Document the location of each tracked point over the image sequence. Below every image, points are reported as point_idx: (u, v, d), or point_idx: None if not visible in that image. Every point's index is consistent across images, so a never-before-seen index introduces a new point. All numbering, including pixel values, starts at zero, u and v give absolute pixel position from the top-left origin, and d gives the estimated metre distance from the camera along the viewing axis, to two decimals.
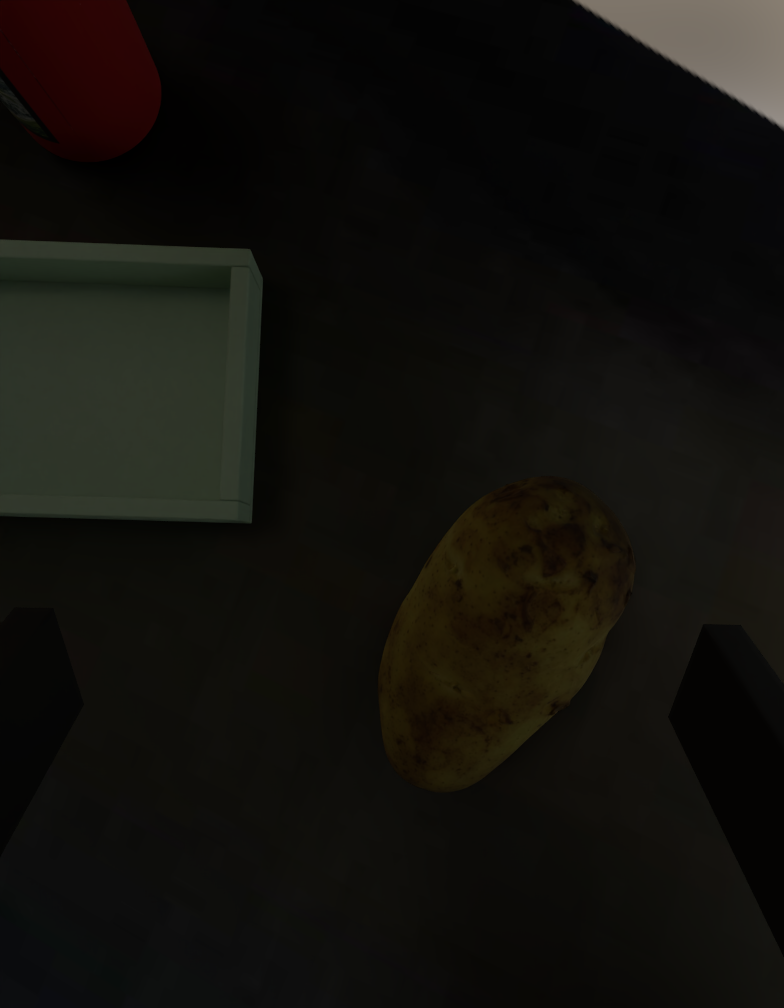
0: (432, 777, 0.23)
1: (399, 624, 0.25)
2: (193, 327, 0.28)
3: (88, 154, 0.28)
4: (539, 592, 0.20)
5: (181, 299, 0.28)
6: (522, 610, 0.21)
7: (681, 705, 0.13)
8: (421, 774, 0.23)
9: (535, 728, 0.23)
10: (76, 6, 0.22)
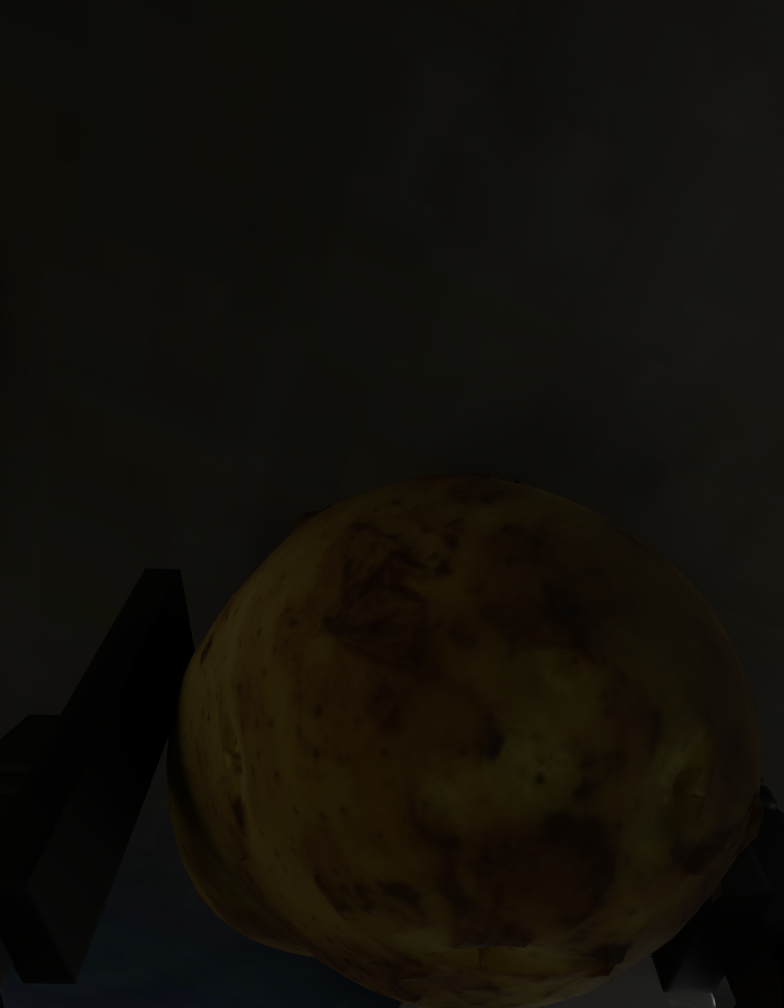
0: None
1: (173, 730, 0.11)
2: None
3: None
4: (441, 969, 0.07)
5: None
6: (389, 975, 0.07)
7: None
8: None
9: None
10: None
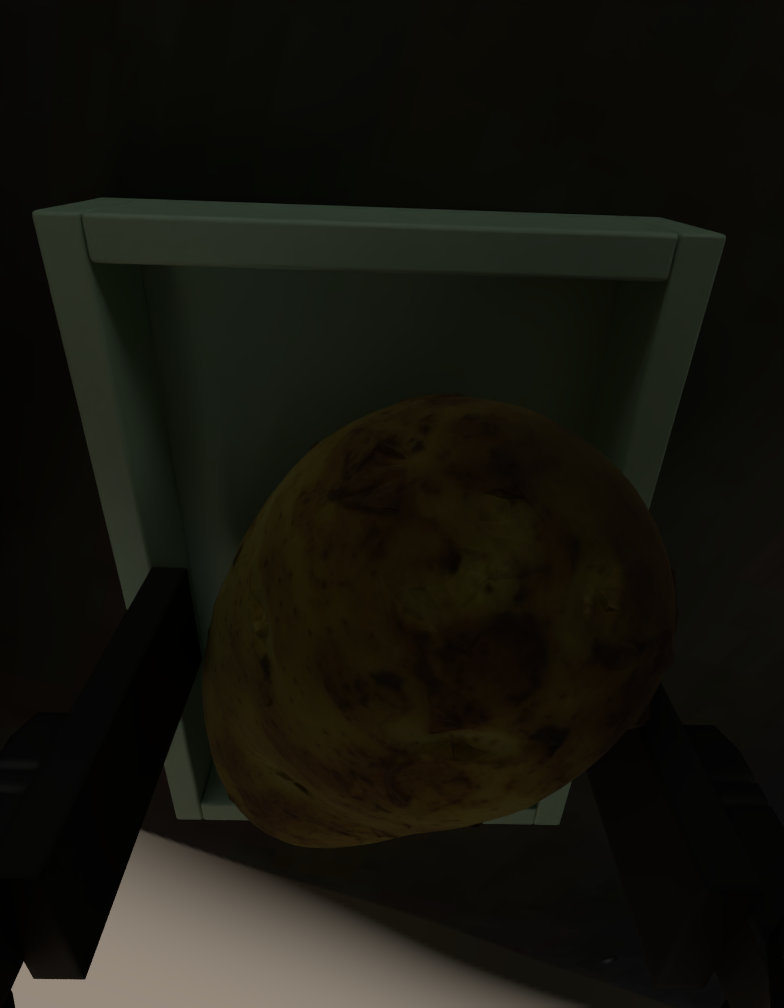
0: (288, 842, 0.15)
1: (209, 640, 0.13)
2: (240, 352, 0.14)
3: None
4: (423, 761, 0.09)
5: (185, 377, 0.14)
6: (385, 778, 0.09)
7: None
8: None
9: None
10: None
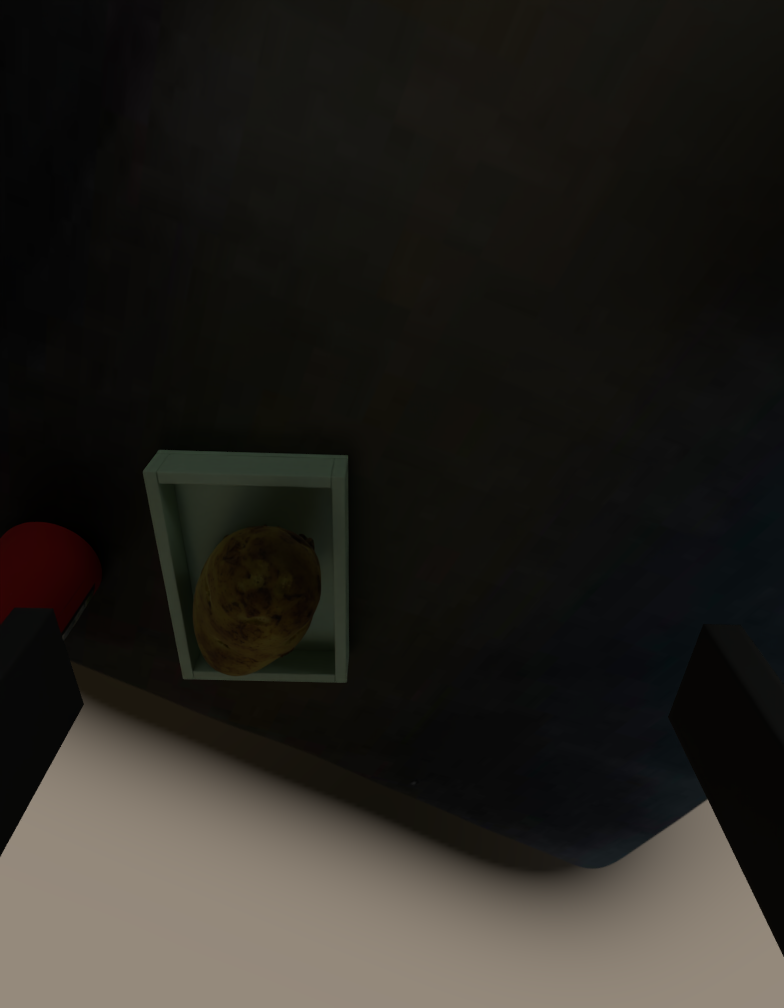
0: (226, 673, 0.41)
1: (194, 598, 0.39)
2: (206, 497, 0.39)
3: (96, 565, 0.40)
4: (247, 625, 0.34)
5: (187, 504, 0.39)
6: (240, 631, 0.34)
7: (681, 705, 0.13)
8: (220, 671, 0.41)
9: (276, 658, 0.39)
10: (13, 596, 0.34)
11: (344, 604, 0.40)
